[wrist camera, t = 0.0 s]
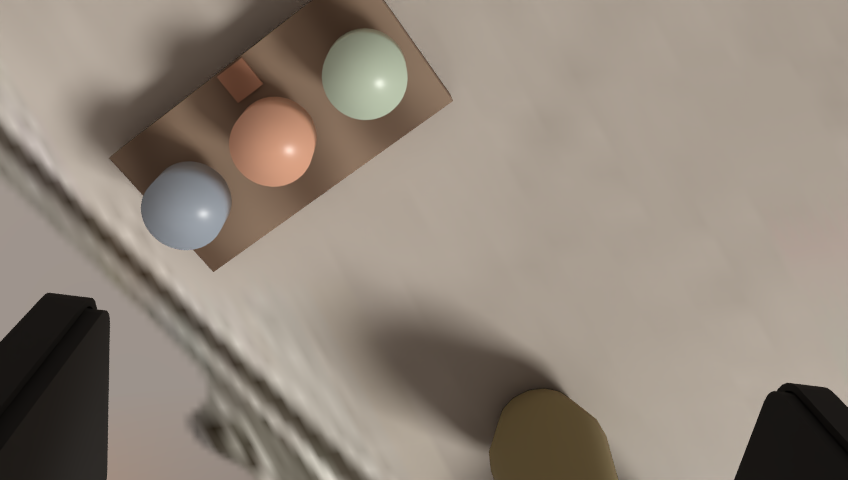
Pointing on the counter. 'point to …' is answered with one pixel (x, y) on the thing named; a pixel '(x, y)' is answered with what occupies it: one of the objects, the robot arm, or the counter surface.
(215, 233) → the button slate
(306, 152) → the button terracotta
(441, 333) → the counter surface
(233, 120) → the button board
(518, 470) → the squeeze bottle
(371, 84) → the button sage
